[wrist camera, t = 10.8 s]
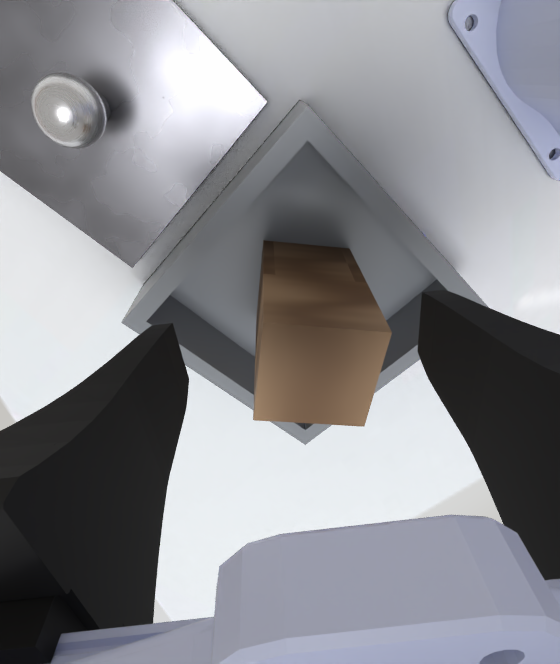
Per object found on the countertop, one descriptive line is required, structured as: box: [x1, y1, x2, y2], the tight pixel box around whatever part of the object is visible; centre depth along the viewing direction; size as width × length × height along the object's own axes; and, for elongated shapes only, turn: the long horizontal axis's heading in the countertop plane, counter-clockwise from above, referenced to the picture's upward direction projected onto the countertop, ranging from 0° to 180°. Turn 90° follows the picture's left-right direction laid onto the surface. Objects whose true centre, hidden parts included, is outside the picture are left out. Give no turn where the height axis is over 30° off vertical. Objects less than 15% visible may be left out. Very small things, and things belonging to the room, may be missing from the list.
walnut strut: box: [253, 240, 392, 426], centre depth 18 cm, size 4×4×8 cm
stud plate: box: [0, 0, 267, 268], centre depth 16 cm, size 10×10×5 cm
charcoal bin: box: [122, 100, 489, 445], centre depth 21 cm, size 12×12×4 cm
